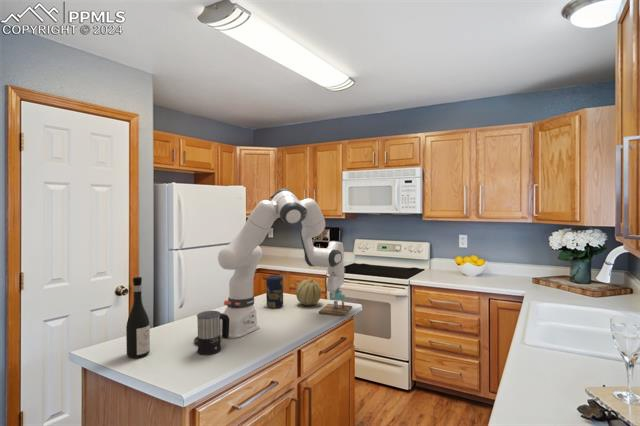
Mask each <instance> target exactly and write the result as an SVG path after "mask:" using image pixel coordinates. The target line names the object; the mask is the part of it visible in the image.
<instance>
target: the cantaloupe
mask: <svg viewBox="0 0 640 426" xmlns="http://www.w3.org/2000/svg"><path fill="white" fill-rule="evenodd" d="M321 296H322V287H321V285H320V284H319V282H317V281H316V280H315V279H310V278H309V279H308V278H307V279H304V280H301V282H299V283H298V285H297V287H296V290H295V297H296V299H297V301H298V302H300V304H302V305H304V306H308V307H309V306H313V305H315V304H317V303H318V302H319V301H320V299H321Z"/></svg>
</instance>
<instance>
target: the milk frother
mask: <svg viewBox="0 0 640 426" xmlns="http://www.w3.org/2000/svg"><path fill="white" fill-rule="evenodd" d="M223 313H224V312H220V311H218V310H205V311H201V312H199V313H197V314H196V317H197V336H196V337H195V338H194V340H193V343H194V344H195V345H196V346H197V350H196V353H197V354H198V355H201V356H210V355H214V354H217V353H219V352H220V351H221V350H222V347H221V343H222V340H221V339H224V340H228V339H230V338H229V317H228V316H227V315H226V314H223ZM220 319H222V337H220Z"/></svg>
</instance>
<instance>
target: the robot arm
mask: <svg viewBox="0 0 640 426" xmlns="http://www.w3.org/2000/svg"><path fill="white" fill-rule="evenodd" d="M279 218H280V219H281V220H282V222H283V223H285V224H287V225H289V226H293V225H296V224H299V223H301V225H302V226H301V228H300V230H299V233H300V234H299V235H300V239H301V240H300V241H301V245H302V249H303V252H304V253H303V255H304V261H305V263H306V264H307V266H309V267H323V268H327V274H328V275H329V276H327V284H326V289H327V292H331V293H332V298H335V297H336V294H335V291H336V290H337V291H341V286H343V284H344V283H345V272H346V268H345V264H344V259H345V258H344V257H345V250H344V244H343V242H342V241H340V240H339V241H338V240H330V241H329V242H328V246H327V247H326V248H324V247H323V248H322V247H316V246H314V243H313V239H312V238H316V237H318V236H319V235H321V234H323V232H324V230H325V228H326V221H325V220H326V219H325V217H324V215H323V212H322V210H321V208H320V206H319V205H318V203H317V202H316V200H314V199H313V198H311V197H309V198H304V199H302V200H299V199H298V198H297V196H296V195H295V194H294V192H293V191H291V190H290V189H288V188H281V189H278V190H277V191H276V192H274V193H273V195H271V196H270V198H269V199H268V200H267V199H261V200H260V201H259V202H258V203H257V204H256V206H255V207H254V208H253V210H252V211H251V213H250V215H249V216H248V218H247V219H246V221H245V223H244V225H243V226H242V229H241V230H240V231H239V232H238V234H237V235H236V236H235V237H234V238H233V239H232V241H230V243H229V244H228V245H226V246H225V247H224V248H222V249H220V251H219V253H218V255H217V261H218V265H219V266H220V267H221V268H222V269H224V270H228V271H229V270H231V271H232V270H233V271H234V273H233V275H232V276H231V277H230V278H229V281H228V289H229V290H228V292H229V293H228V295H229V296H228V299H227V300H224V301H223V305H224V306H226V308H225V309H224V311H223V312H222V313H223V314H226V315H227V316H228V317H229V338H228V339H235V338H237V339H238V338H241V337H243V336H245V335H247V334H249V333H252V332H254V331H257V330H258V329H260V328H261V327H260V325H259V324H258V315H257V309H256V307H255V305H254V304H255V296H254V280H255V273H256V270H257V267H258V265H259V263H260V261H261V260H262V257H263V250H262V247H260V245H261V244H262V243H264V240H265V238H266V237H267V235H268V233H269V232H270V230H271V228H272V226H273V225H274V222H275V221H276V220H277V219H279ZM220 337H221V338H222V319H220Z"/></svg>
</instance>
